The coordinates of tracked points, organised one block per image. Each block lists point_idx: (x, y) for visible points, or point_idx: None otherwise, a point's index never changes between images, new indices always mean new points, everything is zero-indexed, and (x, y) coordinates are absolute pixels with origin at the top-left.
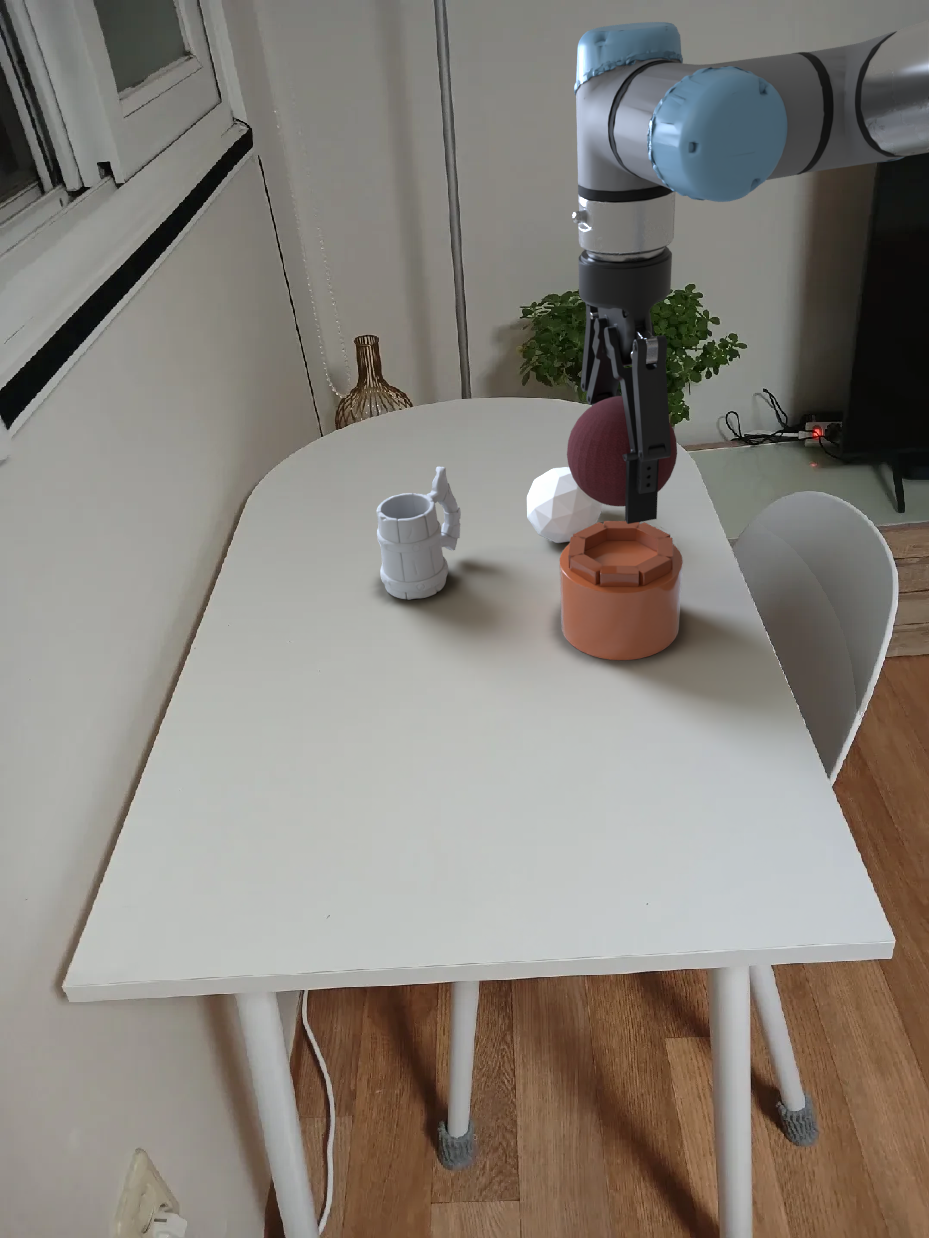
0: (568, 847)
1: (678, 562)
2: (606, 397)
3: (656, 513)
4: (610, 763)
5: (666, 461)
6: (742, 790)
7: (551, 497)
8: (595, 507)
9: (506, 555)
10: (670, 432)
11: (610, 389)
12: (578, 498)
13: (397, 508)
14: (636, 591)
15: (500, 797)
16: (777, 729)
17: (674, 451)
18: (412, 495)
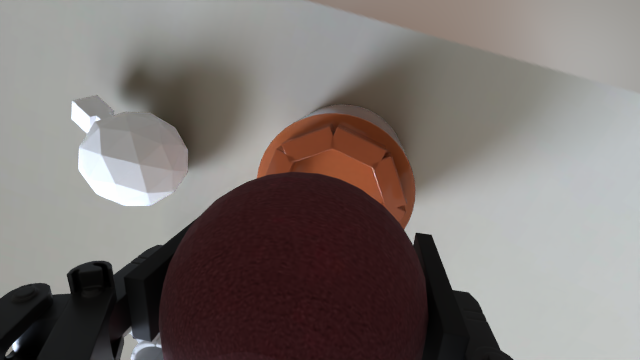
0: (594, 321)
1: (373, 130)
2: (111, 317)
3: (432, 240)
4: (526, 258)
5: (415, 258)
6: (630, 175)
7: (146, 194)
8: (160, 134)
9: (186, 215)
10: (366, 254)
11: (105, 343)
12: (153, 162)
13: (147, 357)
14: (412, 210)
15: (513, 340)
16: (579, 99)
17: (387, 227)
18: (136, 354)
